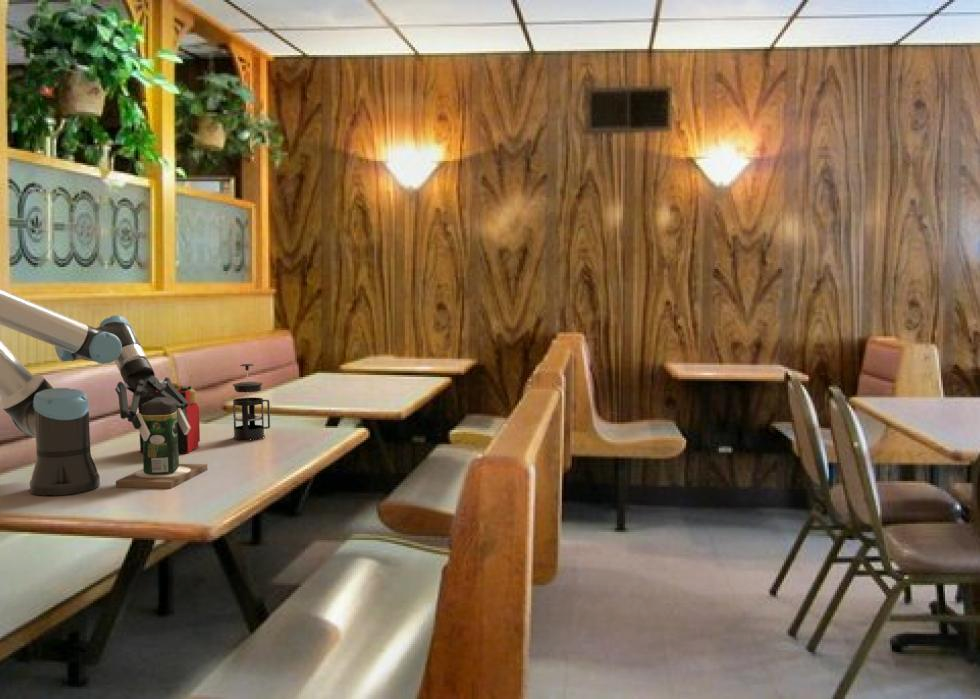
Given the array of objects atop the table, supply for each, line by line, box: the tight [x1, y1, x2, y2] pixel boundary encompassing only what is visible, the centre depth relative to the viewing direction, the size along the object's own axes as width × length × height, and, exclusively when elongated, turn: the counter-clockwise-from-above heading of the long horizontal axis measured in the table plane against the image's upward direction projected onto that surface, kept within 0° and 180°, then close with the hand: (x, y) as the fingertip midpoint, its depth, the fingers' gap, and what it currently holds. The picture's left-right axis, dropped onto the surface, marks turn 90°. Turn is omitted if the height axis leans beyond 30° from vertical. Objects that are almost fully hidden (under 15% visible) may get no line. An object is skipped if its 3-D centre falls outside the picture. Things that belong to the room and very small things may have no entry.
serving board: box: [115, 463, 208, 489], centre depth 227 cm, size 20×14×2 cm
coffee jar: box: [141, 397, 180, 475], centre depth 226 cm, size 10×8×19 cm
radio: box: [137, 382, 201, 454], centre depth 262 cm, size 16×10×20 cm, turn 84°
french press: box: [232, 363, 271, 441], centre depth 280 cm, size 12×9×23 cm
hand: (167, 434), depth 224 cm, fingers open, 10 cm apart
